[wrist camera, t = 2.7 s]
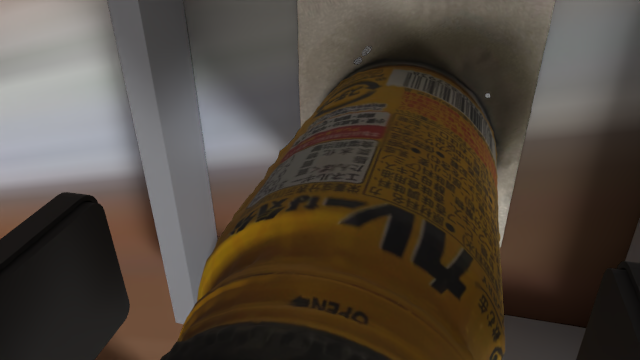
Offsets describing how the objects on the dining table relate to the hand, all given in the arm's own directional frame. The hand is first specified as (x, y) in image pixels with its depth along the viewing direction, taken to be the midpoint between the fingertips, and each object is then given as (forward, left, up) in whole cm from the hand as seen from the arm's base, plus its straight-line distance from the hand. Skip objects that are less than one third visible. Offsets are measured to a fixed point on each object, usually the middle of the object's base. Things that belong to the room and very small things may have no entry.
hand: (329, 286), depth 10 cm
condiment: (0, 0, -9) cm, 9 cm away
